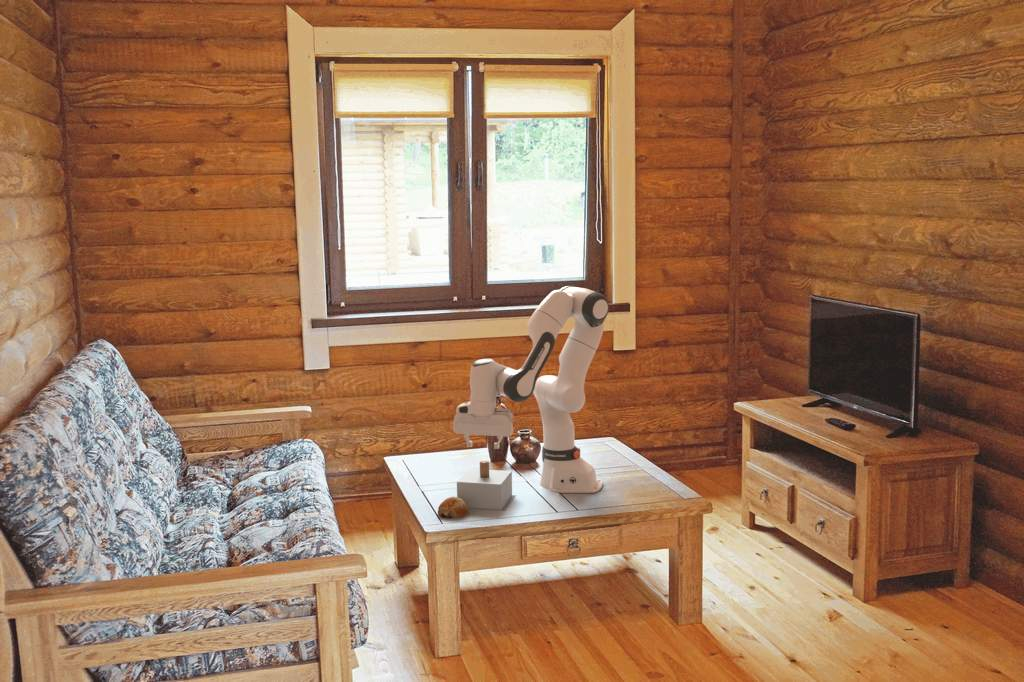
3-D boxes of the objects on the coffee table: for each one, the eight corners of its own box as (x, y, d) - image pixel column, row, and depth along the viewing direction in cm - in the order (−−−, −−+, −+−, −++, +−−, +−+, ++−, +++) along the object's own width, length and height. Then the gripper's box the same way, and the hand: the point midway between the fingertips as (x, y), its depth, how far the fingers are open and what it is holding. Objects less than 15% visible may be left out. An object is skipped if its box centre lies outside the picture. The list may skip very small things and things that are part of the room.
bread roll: (470, 528, 337) (478, 505, 337) (445, 521, 331) (454, 497, 331) (453, 520, 345) (462, 497, 345) (429, 513, 339) (438, 490, 339)
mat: (516, 497, 356) (516, 495, 356) (505, 512, 340) (505, 510, 340) (466, 493, 360) (466, 492, 360) (453, 508, 345) (453, 507, 344)
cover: (512, 495, 355) (511, 457, 353) (501, 509, 341) (500, 469, 339) (469, 492, 359) (469, 454, 357) (457, 507, 345) (456, 467, 342)
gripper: (515, 407, 345) (515, 447, 347) (457, 403, 350) (457, 443, 352) (510, 411, 339) (510, 451, 341) (451, 407, 344) (451, 447, 346)
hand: (483, 447), depth 347 cm, fingers open, 8 cm apart
